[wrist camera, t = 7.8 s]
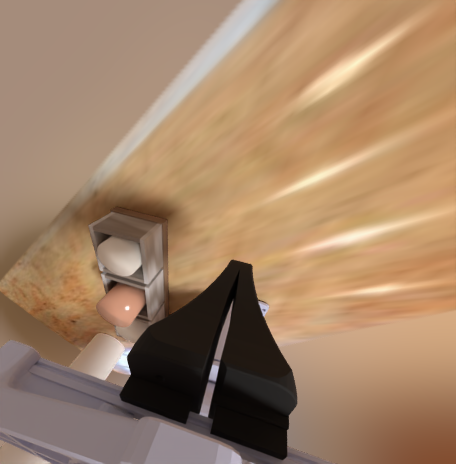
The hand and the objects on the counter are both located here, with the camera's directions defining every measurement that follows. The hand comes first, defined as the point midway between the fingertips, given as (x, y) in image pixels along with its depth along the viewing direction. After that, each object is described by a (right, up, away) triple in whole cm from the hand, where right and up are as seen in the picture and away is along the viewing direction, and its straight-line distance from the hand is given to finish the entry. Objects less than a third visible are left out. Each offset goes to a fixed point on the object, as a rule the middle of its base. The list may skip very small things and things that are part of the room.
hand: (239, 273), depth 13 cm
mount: (-13, -4, +17) cm, 21 cm away
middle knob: (-13, -5, +14) cm, 20 cm away
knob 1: (-12, +2, +12) cm, 17 cm away
